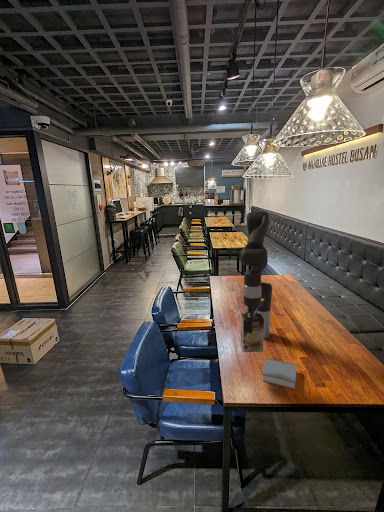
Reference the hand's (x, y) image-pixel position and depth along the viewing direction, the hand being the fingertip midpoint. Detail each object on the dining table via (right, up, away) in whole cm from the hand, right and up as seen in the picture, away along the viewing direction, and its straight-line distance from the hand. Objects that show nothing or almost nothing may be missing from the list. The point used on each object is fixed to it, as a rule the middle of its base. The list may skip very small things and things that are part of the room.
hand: (251, 327), depth 110 cm
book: (+14, -24, +5) cm, 28 cm away
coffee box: (+1, -10, +3) cm, 11 cm away
